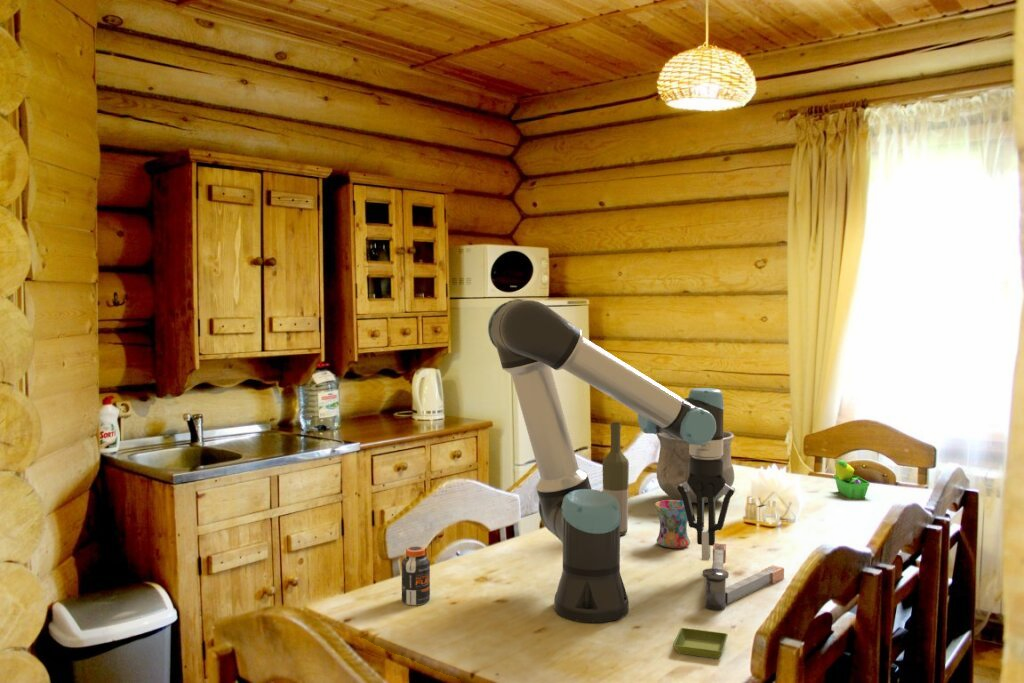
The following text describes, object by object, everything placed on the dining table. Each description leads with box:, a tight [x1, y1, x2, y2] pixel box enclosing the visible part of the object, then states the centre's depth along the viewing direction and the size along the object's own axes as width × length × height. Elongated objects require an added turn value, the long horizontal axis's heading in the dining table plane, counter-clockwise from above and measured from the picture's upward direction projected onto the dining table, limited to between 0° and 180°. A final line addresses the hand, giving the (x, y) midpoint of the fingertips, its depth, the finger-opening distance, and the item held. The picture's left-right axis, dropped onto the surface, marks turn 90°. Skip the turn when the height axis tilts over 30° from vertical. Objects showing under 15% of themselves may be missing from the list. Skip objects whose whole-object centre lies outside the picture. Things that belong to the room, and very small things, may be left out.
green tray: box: [673, 627, 729, 659], centre depth 152 cm, size 9×9×2 cm
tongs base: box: [702, 564, 785, 612], centre depth 180 cm, size 29×5×7 cm, turn 134°
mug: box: [654, 499, 691, 549], centre depth 216 cm, size 12×9×11 cm
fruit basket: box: [833, 459, 870, 499], centre depth 267 cm, size 11×9×11 cm
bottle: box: [602, 422, 630, 536], centre depth 225 cm, size 7×7×30 cm
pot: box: [655, 430, 735, 504], centre depth 260 cm, size 25×24×21 cm
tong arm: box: [711, 542, 727, 570], centre depth 186 cm, size 23×3×3 cm, turn 164°
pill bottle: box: [401, 545, 431, 606], centre depth 176 cm, size 6×6×11 cm
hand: (706, 558), depth 192 cm, fingers closed
